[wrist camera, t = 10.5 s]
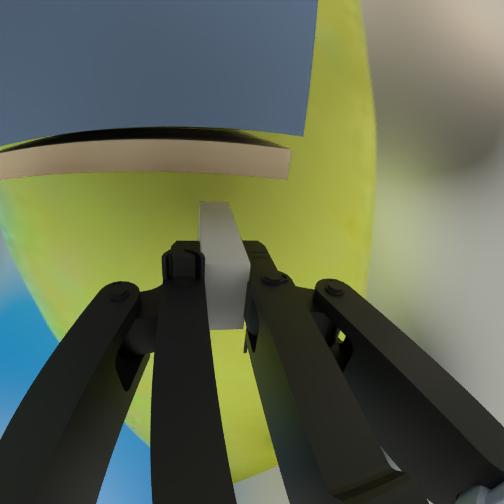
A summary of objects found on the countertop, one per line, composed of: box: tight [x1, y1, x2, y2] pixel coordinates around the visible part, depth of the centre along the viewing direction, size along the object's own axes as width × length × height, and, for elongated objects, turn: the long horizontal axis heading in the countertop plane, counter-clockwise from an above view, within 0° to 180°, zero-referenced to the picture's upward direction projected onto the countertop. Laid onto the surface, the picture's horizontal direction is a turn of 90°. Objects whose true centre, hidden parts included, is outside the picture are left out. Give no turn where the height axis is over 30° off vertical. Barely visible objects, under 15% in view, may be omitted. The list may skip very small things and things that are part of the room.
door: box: [0, 128, 292, 180], centre depth 13 cm, size 1×15×11 cm, turn 83°
